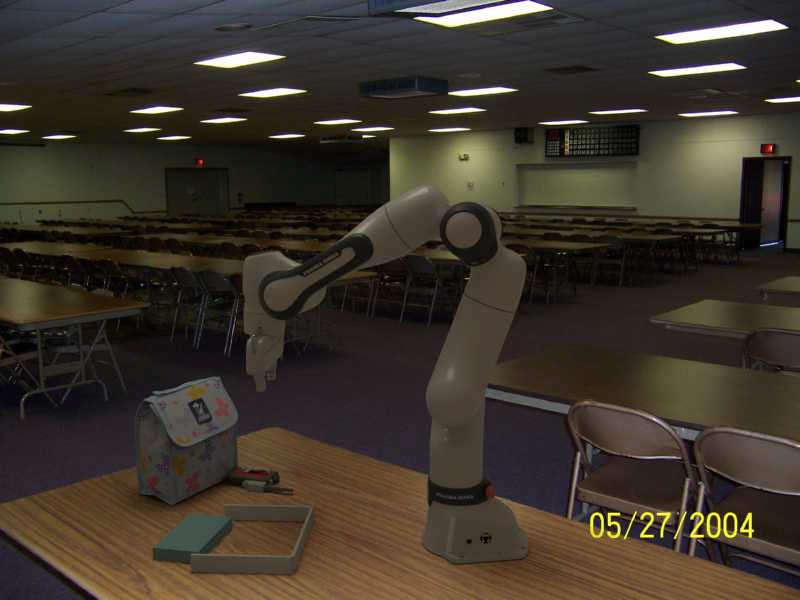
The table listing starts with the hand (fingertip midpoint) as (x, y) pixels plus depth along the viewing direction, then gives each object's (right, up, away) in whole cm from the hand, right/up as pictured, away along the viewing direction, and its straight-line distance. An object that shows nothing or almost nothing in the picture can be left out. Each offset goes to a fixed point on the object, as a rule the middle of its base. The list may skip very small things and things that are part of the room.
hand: (266, 385), depth 160 cm
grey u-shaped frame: (0, -33, -8) cm, 34 cm away
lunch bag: (-23, -29, +22) cm, 43 cm away
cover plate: (-14, -33, -7) cm, 37 cm away
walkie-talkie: (-5, -29, +23) cm, 37 cm away
